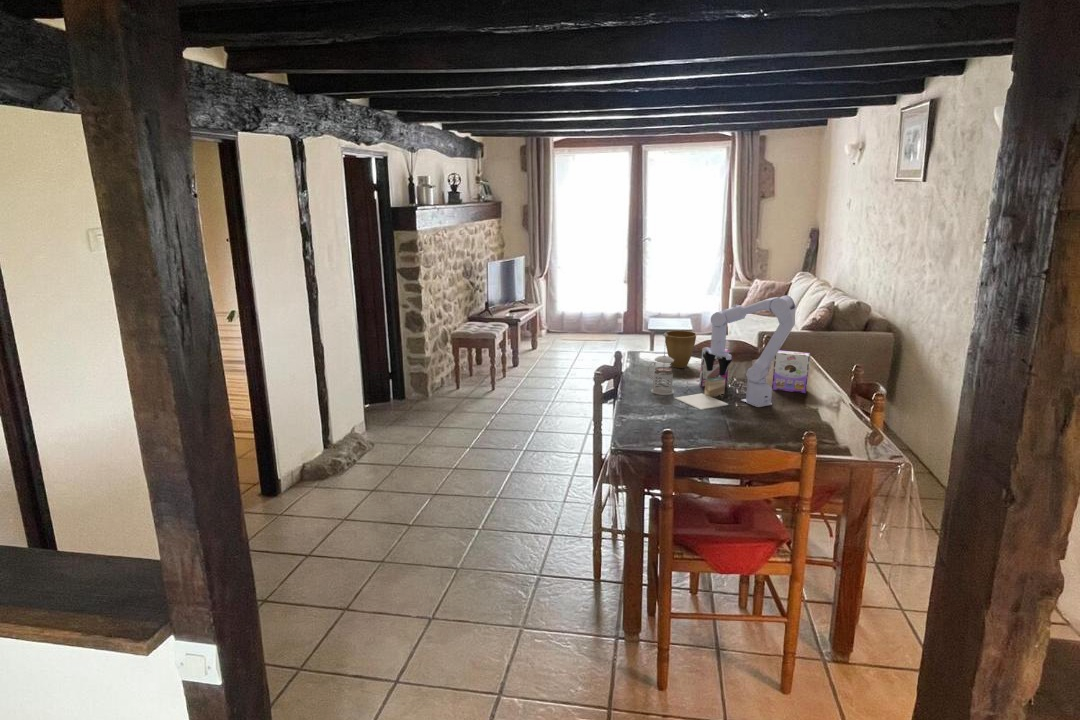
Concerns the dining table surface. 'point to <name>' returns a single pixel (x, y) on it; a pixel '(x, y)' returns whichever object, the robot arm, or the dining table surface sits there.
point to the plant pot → (680, 347)
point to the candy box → (791, 371)
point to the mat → (701, 401)
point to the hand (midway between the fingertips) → (715, 372)
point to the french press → (662, 375)
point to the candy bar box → (715, 371)
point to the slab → (714, 386)
